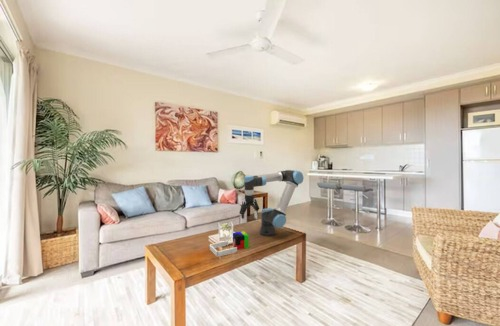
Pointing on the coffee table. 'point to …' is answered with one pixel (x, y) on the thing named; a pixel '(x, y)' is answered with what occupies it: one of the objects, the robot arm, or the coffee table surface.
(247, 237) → the puzzle toy
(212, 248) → the tray
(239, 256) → the coffee table surface
